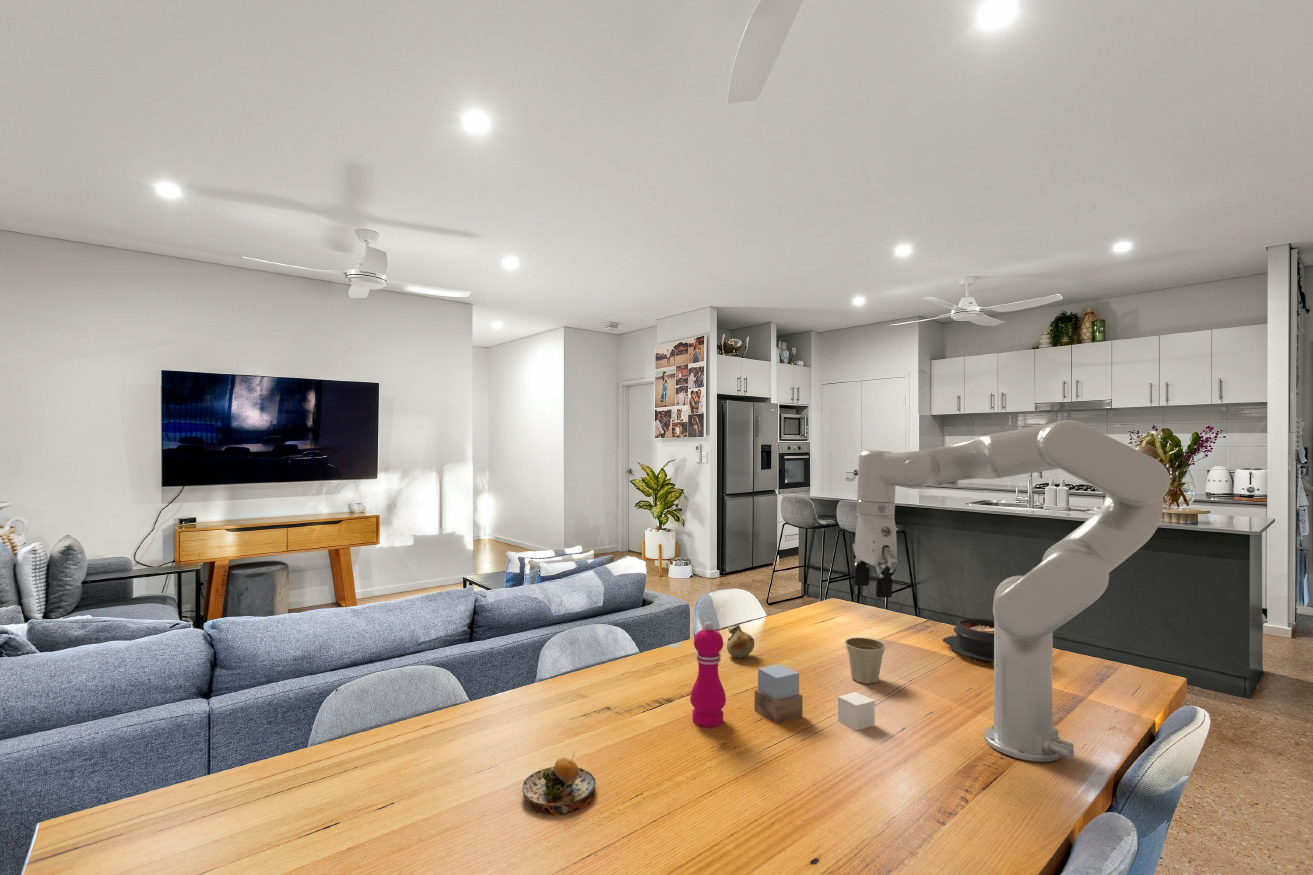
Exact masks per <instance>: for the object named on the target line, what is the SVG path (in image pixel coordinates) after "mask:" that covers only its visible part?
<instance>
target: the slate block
mask: <svg viewBox="0 0 1313 875" xmlns="http://www.w3.org/2000/svg"><path fill="white" fill-rule="evenodd" d="M757 669H758V670H757V674H758V675H757V689H758V690H759V691H761V692H763V693H765V694H766V695H768V696H770V697H772V698H773V699H775V700H779V699H783V698H787V697H792V696H796V695H799V694H800V673H799V672H798V671H796V670H795V669H792V668H790V667H787V666H785V665H784V664H782V663H779V664H773V665H768V666H764V667H760V668H757Z"/></svg>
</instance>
